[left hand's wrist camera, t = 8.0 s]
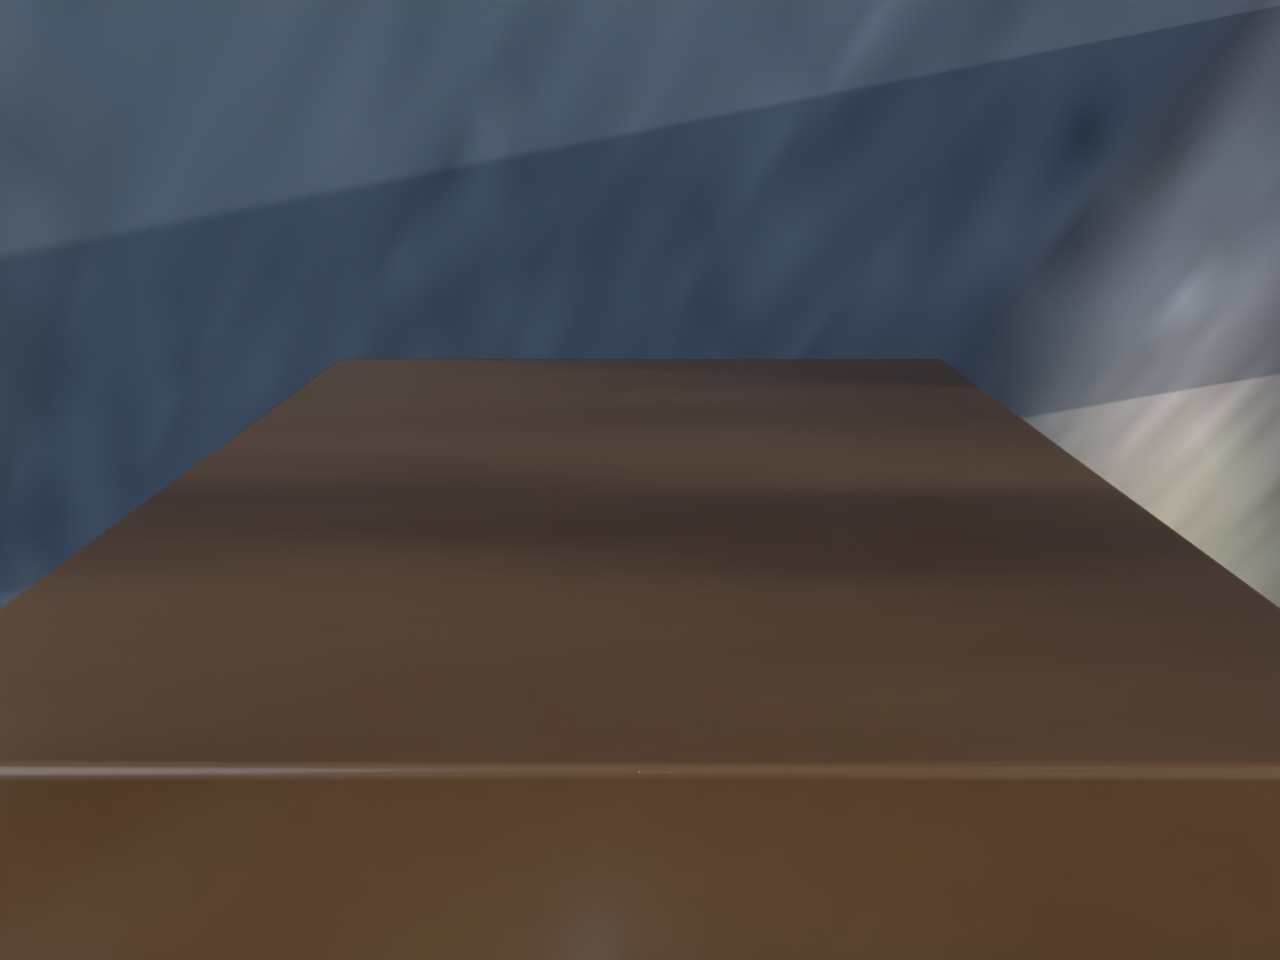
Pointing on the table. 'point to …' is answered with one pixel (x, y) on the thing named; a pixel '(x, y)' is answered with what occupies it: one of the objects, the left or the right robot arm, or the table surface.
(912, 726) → the box
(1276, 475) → the table surface
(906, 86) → the table surface
